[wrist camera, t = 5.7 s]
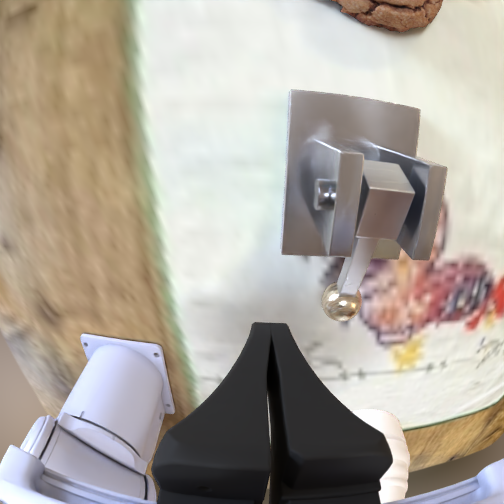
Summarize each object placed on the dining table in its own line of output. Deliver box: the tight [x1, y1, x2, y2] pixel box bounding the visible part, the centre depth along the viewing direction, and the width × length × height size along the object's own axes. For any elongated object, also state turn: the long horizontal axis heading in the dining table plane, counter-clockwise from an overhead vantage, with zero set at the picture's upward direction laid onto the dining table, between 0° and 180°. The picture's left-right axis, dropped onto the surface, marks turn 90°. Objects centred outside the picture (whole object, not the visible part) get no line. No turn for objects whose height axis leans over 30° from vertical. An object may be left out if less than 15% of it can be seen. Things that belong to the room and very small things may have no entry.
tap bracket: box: [281, 90, 447, 260], centre depth 15 cm, size 10×8×7 cm
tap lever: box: [322, 160, 415, 321], centre depth 17 cm, size 11×3×3 cm, turn 178°
